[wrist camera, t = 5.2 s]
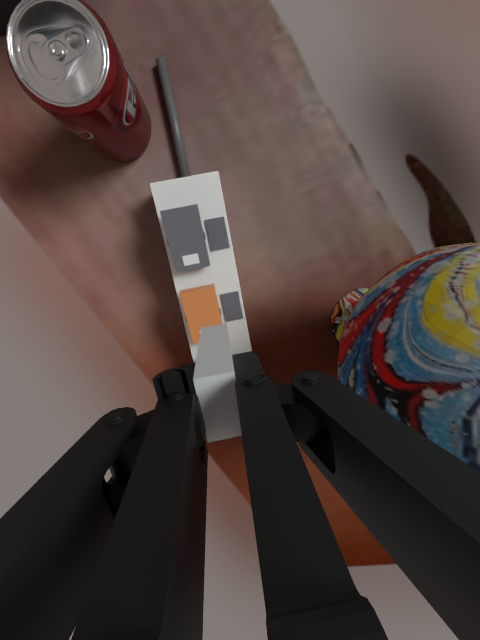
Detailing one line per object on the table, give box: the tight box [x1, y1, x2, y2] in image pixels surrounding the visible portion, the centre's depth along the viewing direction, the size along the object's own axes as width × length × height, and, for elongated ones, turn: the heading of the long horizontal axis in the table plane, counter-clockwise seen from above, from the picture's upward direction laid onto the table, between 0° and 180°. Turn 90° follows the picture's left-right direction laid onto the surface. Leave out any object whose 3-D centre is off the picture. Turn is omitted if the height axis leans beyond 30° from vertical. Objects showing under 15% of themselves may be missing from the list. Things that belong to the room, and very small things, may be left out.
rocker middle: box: [180, 284, 223, 345], centre depth 30 cm, size 6×4×1 cm, turn 11°
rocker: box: [160, 204, 210, 272], centre depth 28 cm, size 6×4×1 cm, turn 11°
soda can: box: [6, 0, 151, 162], centre depth 25 cm, size 7×7×12 cm
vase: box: [331, 243, 480, 472], centre depth 23 cm, size 19×19×30 cm
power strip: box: [150, 57, 252, 363], centre depth 32 cm, size 40×7×5 cm, turn 11°
